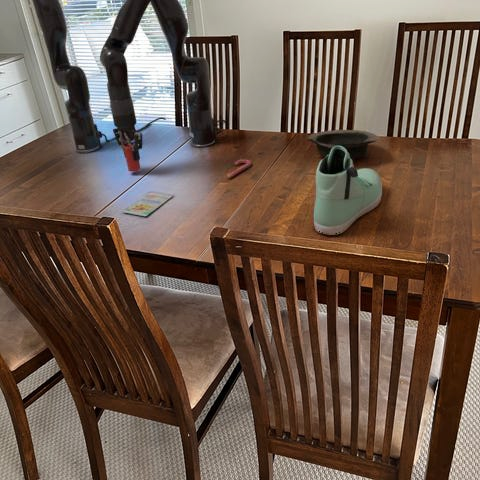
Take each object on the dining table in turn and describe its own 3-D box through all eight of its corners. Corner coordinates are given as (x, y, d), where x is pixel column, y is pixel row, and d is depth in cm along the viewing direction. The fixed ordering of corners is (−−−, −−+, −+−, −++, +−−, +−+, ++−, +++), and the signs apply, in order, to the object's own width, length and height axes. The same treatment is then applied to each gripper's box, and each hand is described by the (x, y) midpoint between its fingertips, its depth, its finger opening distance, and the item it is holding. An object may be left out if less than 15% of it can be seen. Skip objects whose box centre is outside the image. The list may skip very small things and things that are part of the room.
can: (126, 171, 170) (121, 148, 166) (131, 166, 174) (126, 144, 170) (138, 171, 170) (133, 148, 165) (142, 166, 173) (138, 143, 169)
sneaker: (389, 187, 148) (396, 123, 138) (356, 242, 123) (361, 168, 112) (346, 181, 154) (350, 119, 144) (306, 232, 129) (307, 161, 118)
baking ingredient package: (121, 211, 146) (150, 191, 157) (122, 212, 146) (150, 192, 158) (145, 215, 142) (173, 195, 154) (145, 216, 143) (173, 196, 154)
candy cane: (215, 176, 165) (215, 172, 164) (240, 161, 175) (240, 157, 174) (229, 180, 162) (229, 175, 161) (254, 164, 172) (254, 160, 171)
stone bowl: (336, 174, 158) (335, 147, 154) (295, 157, 179) (293, 133, 174) (394, 156, 167) (394, 130, 163) (348, 141, 187) (348, 118, 183)
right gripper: (101, 111, 163) (111, 158, 172) (127, 117, 154) (136, 166, 163) (119, 105, 167) (128, 151, 176) (145, 111, 159) (153, 159, 168)
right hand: (132, 158), depth 170 cm, fingers closed on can, 4 cm apart
